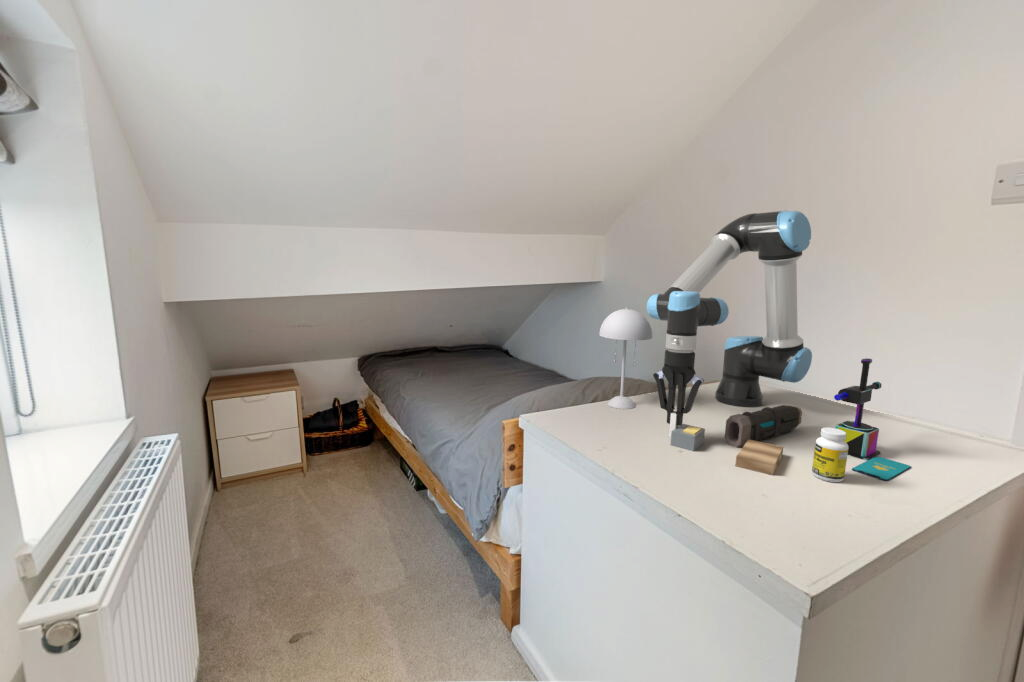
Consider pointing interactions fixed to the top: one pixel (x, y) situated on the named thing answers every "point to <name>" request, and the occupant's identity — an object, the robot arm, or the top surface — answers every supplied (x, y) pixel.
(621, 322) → the lamp
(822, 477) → the pill bottle
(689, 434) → the block
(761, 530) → the top surface
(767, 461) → the board
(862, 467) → the smartphone
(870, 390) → the colourful clamp stand
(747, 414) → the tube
